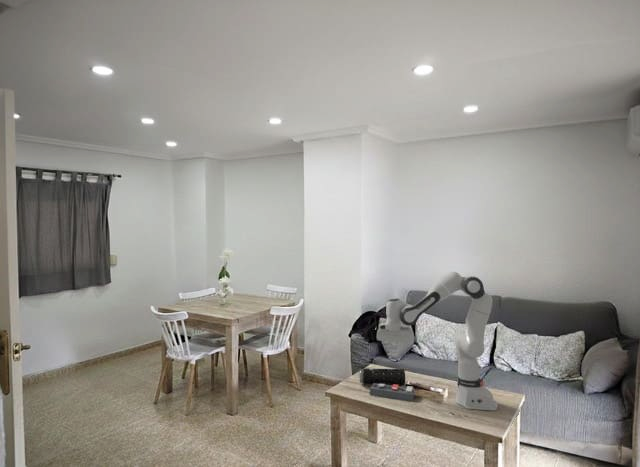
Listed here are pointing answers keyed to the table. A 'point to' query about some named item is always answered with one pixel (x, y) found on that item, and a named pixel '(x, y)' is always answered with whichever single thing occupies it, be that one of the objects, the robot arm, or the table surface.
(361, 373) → the muzzle brake
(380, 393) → the strip housing
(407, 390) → the rocker
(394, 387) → the rocker middle
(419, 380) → the table surface
